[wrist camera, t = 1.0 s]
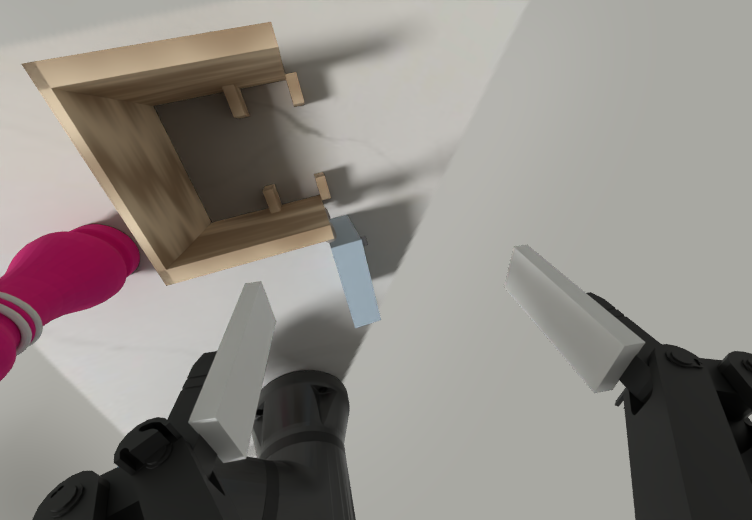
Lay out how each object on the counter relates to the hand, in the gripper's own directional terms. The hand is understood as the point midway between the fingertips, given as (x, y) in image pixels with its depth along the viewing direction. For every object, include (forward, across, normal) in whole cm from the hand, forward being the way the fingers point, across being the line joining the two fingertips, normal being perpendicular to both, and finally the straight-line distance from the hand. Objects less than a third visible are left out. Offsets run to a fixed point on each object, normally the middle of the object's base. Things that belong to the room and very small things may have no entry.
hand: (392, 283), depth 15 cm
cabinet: (+21, +12, -3) cm, 24 cm away
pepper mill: (+18, +28, +4) cm, 33 cm away
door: (+20, +3, +10) cm, 22 cm away
